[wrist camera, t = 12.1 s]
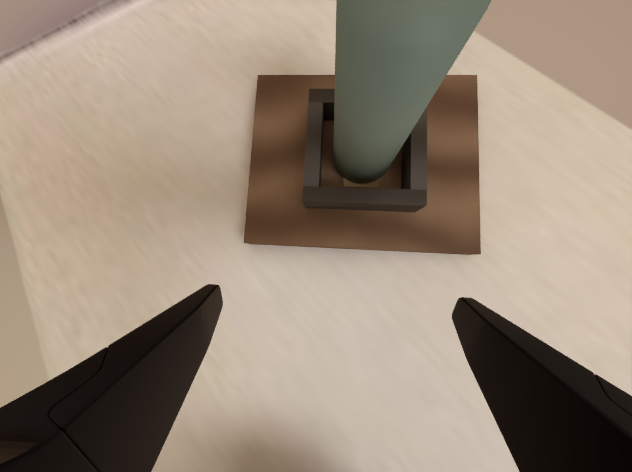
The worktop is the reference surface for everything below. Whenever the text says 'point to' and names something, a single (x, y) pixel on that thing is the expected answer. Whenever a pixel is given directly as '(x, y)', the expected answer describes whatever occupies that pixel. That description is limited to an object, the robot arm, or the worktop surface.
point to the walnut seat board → (372, 198)
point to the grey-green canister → (391, 74)
